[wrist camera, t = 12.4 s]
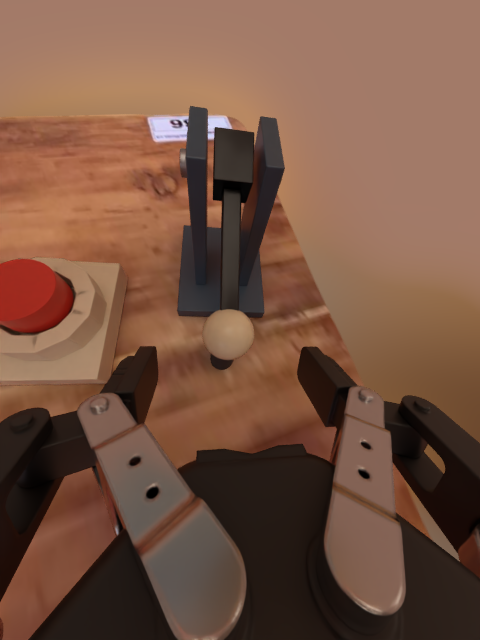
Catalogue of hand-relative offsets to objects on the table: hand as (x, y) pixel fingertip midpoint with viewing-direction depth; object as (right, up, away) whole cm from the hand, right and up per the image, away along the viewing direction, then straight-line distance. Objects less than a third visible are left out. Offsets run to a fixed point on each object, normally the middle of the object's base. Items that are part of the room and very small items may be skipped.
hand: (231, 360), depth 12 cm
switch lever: (0, +6, +3) cm, 7 cm away
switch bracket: (-1, +7, +11) cm, 13 cm away
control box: (-14, +2, +7) cm, 16 cm away
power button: (-14, +3, +3) cm, 14 cm away
